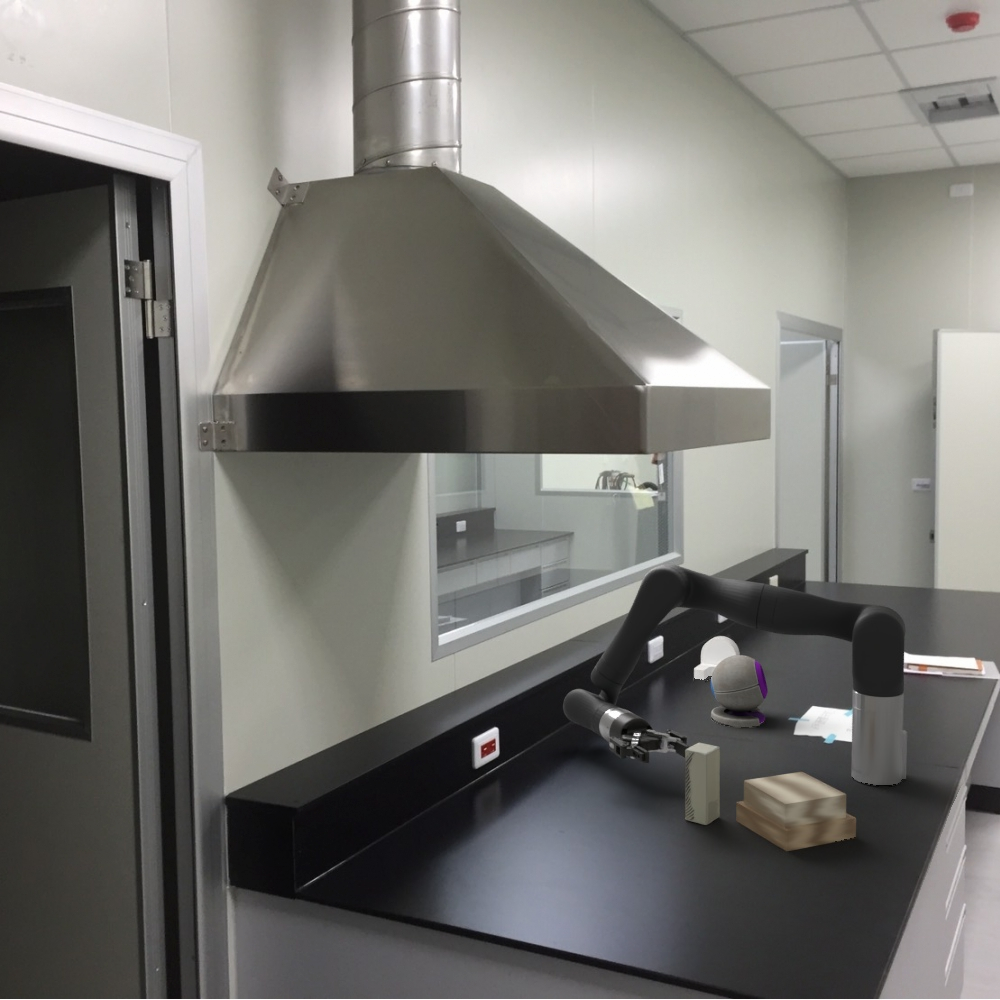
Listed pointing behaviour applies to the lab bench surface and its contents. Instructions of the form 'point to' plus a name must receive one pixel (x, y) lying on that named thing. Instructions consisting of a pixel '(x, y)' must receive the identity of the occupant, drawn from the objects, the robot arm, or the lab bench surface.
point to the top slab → (794, 799)
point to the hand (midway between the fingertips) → (668, 755)
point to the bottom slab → (796, 829)
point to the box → (702, 783)
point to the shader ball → (739, 691)
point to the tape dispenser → (714, 655)
